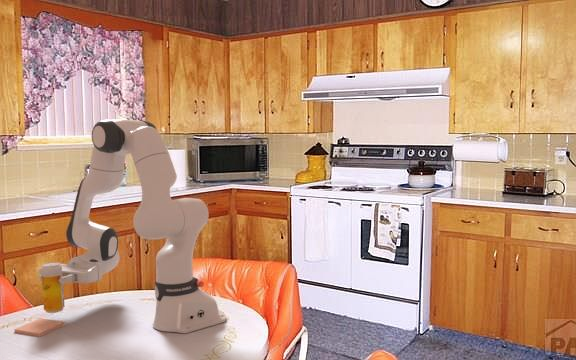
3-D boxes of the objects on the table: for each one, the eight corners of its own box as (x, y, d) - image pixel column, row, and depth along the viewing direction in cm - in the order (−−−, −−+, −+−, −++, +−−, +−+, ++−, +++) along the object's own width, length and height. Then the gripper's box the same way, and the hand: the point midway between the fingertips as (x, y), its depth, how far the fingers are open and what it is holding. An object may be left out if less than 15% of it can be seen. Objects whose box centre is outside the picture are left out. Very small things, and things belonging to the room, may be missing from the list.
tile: (40, 318, 174) (14, 329, 165) (64, 321, 170) (39, 333, 161) (40, 322, 174) (14, 333, 165) (64, 326, 171) (40, 338, 161)
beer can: (44, 308, 175) (41, 262, 173) (65, 305, 177) (62, 260, 175) (43, 314, 169) (39, 267, 167) (64, 312, 171) (60, 265, 169)
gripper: (56, 257, 187) (24, 267, 174) (105, 261, 180) (74, 272, 167) (57, 275, 188) (25, 286, 175) (106, 280, 180) (76, 292, 168)
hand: (50, 280), depth 171 cm, fingers closed on beer can, 6 cm apart
